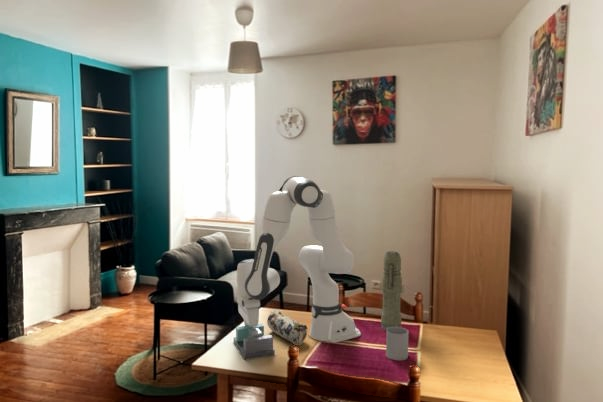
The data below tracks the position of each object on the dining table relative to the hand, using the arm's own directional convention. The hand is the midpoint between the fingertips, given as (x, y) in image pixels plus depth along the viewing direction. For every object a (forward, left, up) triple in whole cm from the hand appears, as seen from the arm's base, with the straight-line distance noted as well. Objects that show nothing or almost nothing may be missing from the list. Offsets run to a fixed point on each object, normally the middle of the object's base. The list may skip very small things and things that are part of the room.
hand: (247, 329), depth 185 cm
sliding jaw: (0, +4, -2) cm, 5 cm away
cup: (-50, +36, -5) cm, 62 cm away
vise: (0, +9, -4) cm, 10 cm away
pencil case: (-16, +2, -5) cm, 17 cm away
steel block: (0, +11, -3) cm, 11 cm away
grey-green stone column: (-64, +11, -5) cm, 65 cm away
